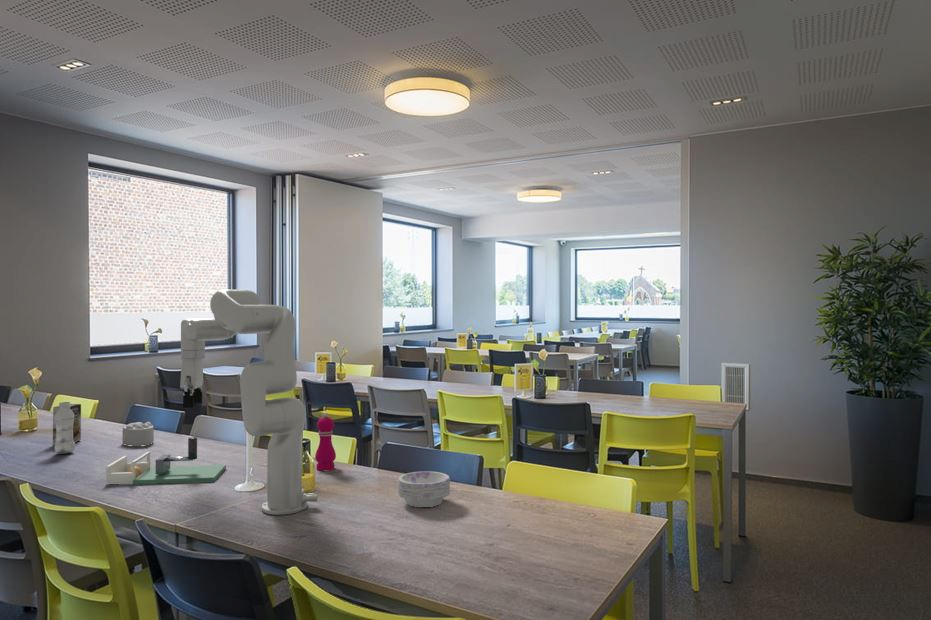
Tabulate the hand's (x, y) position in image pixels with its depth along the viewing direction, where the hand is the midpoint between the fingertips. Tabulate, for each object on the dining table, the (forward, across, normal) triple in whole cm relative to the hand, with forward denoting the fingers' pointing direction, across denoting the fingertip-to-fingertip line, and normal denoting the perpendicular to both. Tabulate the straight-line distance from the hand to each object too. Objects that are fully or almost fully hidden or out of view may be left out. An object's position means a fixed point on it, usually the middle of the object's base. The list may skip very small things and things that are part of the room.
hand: (192, 405), depth 206 cm
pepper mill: (+24, -4, +44) cm, 50 cm away
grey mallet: (+22, 0, -5) cm, 23 cm away
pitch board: (+24, 0, -4) cm, 24 cm away
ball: (+22, 0, -19) cm, 29 cm away
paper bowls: (+25, +39, +76) cm, 89 cm away
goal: (+24, 0, -20) cm, 31 cm away
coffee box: (+24, -59, -67) cm, 93 cm away
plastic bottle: (+24, -40, -59) cm, 76 cm away
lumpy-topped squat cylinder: (+24, -55, -37) cm, 71 cm away
